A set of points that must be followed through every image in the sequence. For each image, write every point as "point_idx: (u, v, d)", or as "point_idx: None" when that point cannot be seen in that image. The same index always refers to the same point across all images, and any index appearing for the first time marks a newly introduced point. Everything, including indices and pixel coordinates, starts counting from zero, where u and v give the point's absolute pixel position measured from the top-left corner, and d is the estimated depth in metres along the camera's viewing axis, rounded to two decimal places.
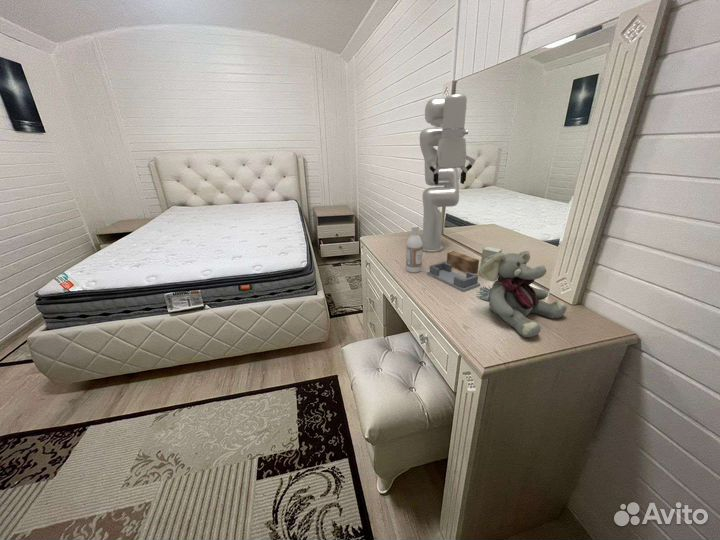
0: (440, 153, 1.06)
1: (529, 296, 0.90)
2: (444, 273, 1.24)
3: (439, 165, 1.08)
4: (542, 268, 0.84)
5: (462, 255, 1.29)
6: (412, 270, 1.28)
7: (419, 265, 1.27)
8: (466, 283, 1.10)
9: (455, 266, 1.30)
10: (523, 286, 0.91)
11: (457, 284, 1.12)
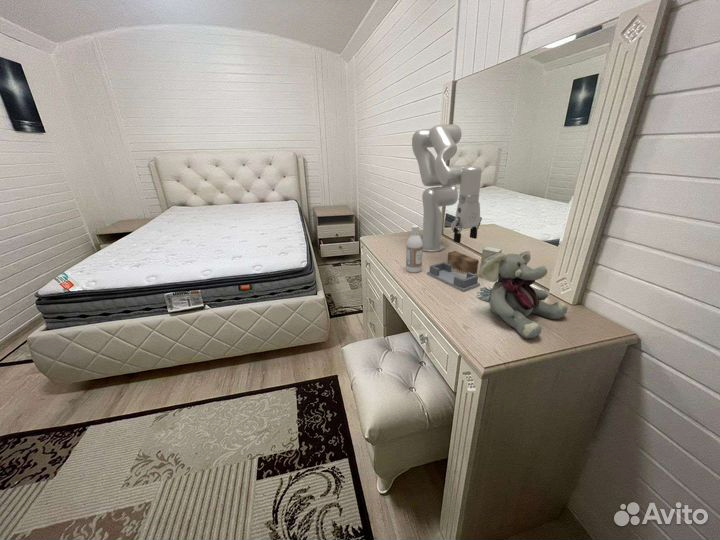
0: None
1: (530, 297, 0.90)
2: (444, 273, 1.24)
3: None
4: (543, 269, 0.83)
5: (463, 255, 1.29)
6: (412, 270, 1.28)
7: (419, 265, 1.27)
8: (466, 283, 1.10)
9: (455, 266, 1.31)
10: (524, 287, 0.90)
11: (457, 284, 1.12)
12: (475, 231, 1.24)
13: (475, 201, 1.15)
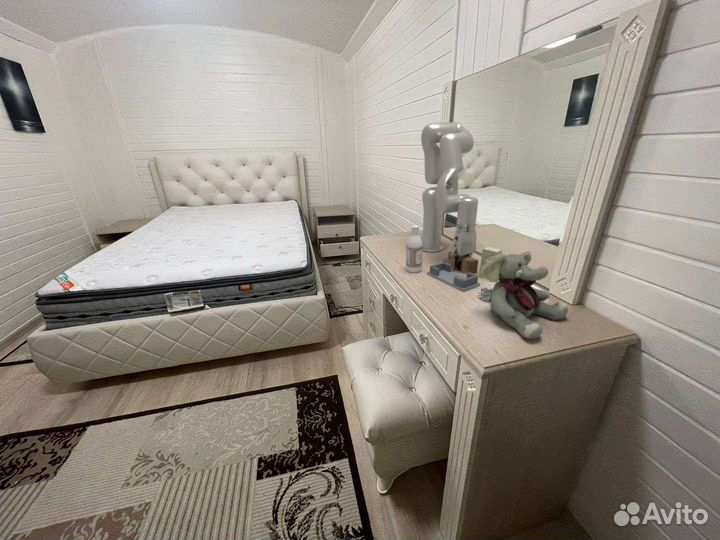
0: None
1: (531, 297, 0.89)
2: (444, 273, 1.24)
3: None
4: (544, 269, 0.83)
5: None
6: (412, 270, 1.28)
7: (419, 265, 1.27)
8: (466, 283, 1.10)
9: None
10: (524, 287, 0.90)
11: (457, 284, 1.12)
12: None
13: (471, 230, 1.20)
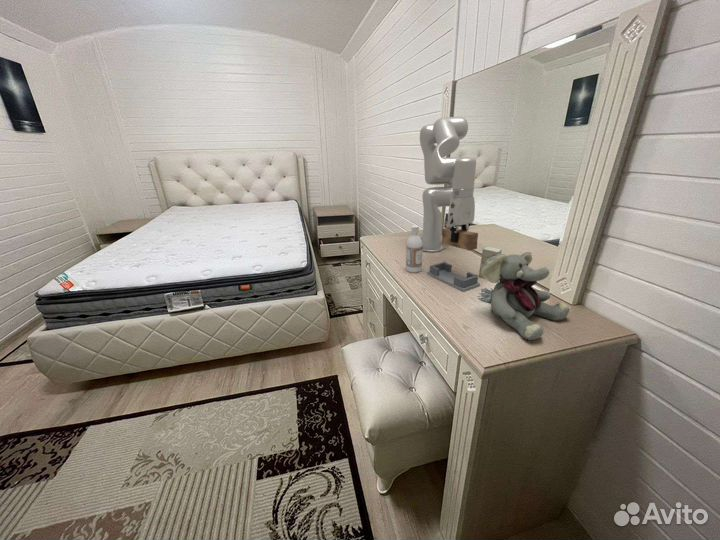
0: None
1: (531, 298, 0.89)
2: (444, 273, 1.24)
3: None
4: (545, 270, 0.83)
5: (459, 230, 1.15)
6: (412, 270, 1.28)
7: (419, 265, 1.27)
8: (466, 283, 1.10)
9: (451, 243, 1.16)
10: (525, 288, 0.89)
11: (457, 284, 1.12)
12: None
13: (469, 195, 1.06)
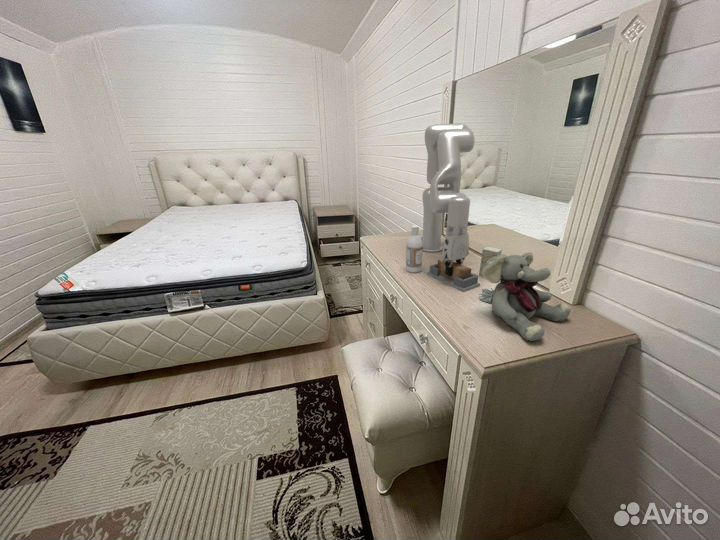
0: None
1: (532, 299, 0.88)
2: None
3: None
4: (546, 270, 0.82)
5: (454, 262, 1.18)
6: (412, 270, 1.28)
7: (419, 265, 1.27)
8: (466, 283, 1.10)
9: (446, 275, 1.19)
10: (526, 288, 0.89)
11: (457, 284, 1.12)
12: None
13: (463, 233, 1.09)
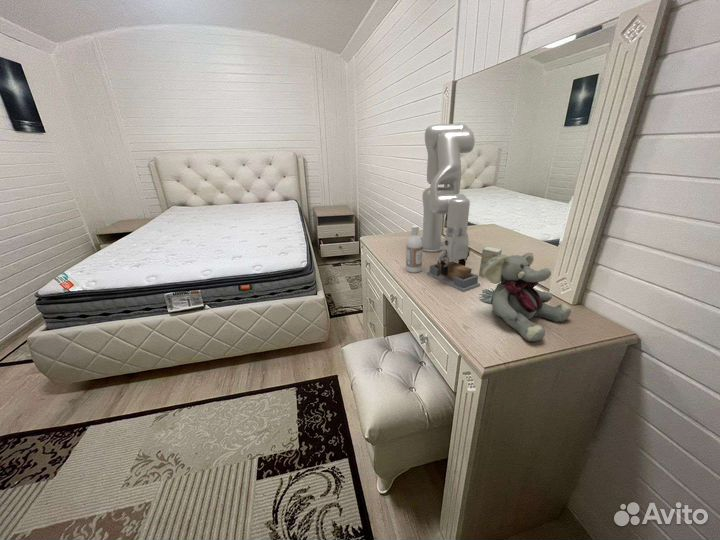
0: None
1: (533, 299, 0.88)
2: None
3: None
4: (546, 271, 0.82)
5: (454, 262, 1.18)
6: (412, 270, 1.28)
7: (419, 265, 1.27)
8: (466, 283, 1.10)
9: None
10: (527, 289, 0.89)
11: (457, 284, 1.12)
12: (463, 263, 1.18)
13: (463, 234, 1.09)
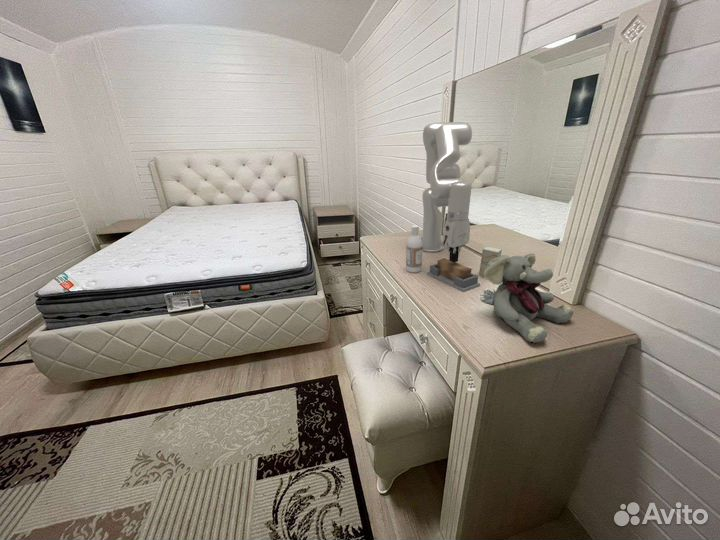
0: None
1: (535, 300, 0.88)
2: None
3: None
4: (548, 271, 0.81)
5: None
6: (412, 270, 1.28)
7: (419, 265, 1.27)
8: (466, 283, 1.10)
9: (446, 275, 1.19)
10: (529, 290, 0.88)
11: (457, 284, 1.12)
12: None
13: (464, 219, 1.07)
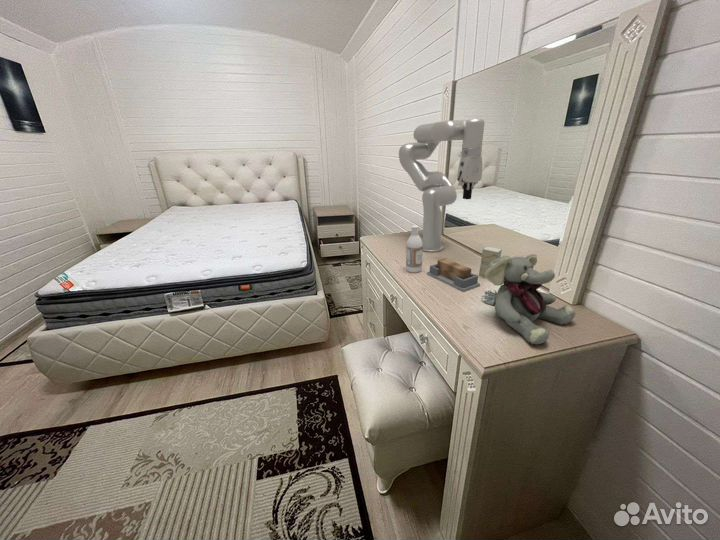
0: None
1: (536, 301, 0.87)
2: None
3: None
4: (550, 272, 0.81)
5: (454, 262, 1.18)
6: (412, 270, 1.28)
7: (419, 265, 1.27)
8: (466, 283, 1.10)
9: (446, 275, 1.19)
10: (530, 291, 0.88)
11: (457, 284, 1.12)
12: None
13: (478, 154, 1.16)
